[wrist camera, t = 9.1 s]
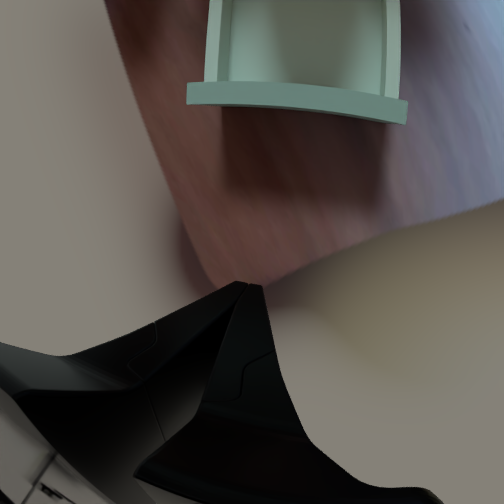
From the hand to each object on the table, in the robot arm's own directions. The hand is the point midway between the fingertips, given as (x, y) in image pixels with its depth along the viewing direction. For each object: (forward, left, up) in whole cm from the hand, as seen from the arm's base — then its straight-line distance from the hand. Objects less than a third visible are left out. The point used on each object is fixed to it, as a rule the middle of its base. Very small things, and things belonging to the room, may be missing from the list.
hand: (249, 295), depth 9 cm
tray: (0, -14, -12) cm, 19 cm away
